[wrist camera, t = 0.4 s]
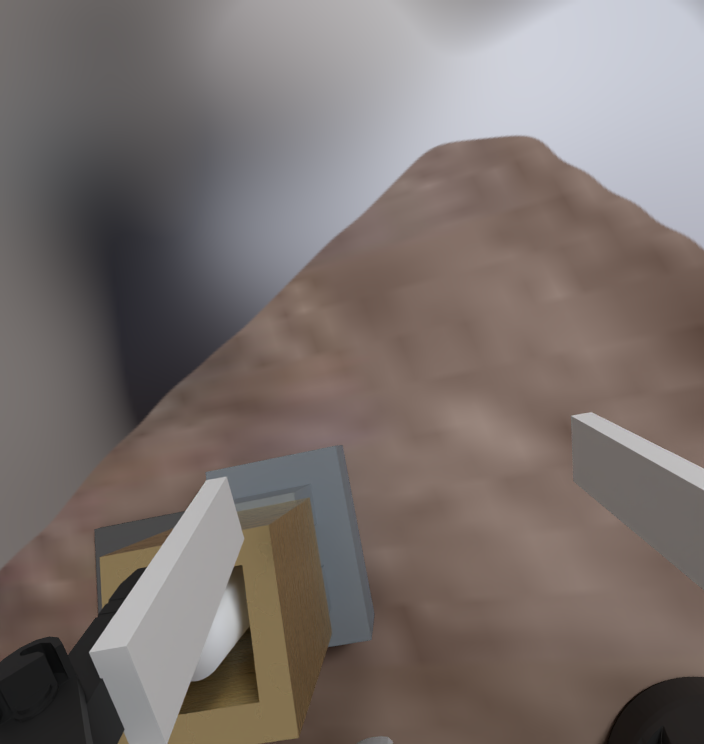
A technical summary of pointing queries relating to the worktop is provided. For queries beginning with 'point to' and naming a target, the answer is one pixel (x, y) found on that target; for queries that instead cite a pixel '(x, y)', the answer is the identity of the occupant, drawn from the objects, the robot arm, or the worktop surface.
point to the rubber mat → (128, 538)
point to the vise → (334, 538)
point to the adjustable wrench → (376, 740)
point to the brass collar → (255, 632)
